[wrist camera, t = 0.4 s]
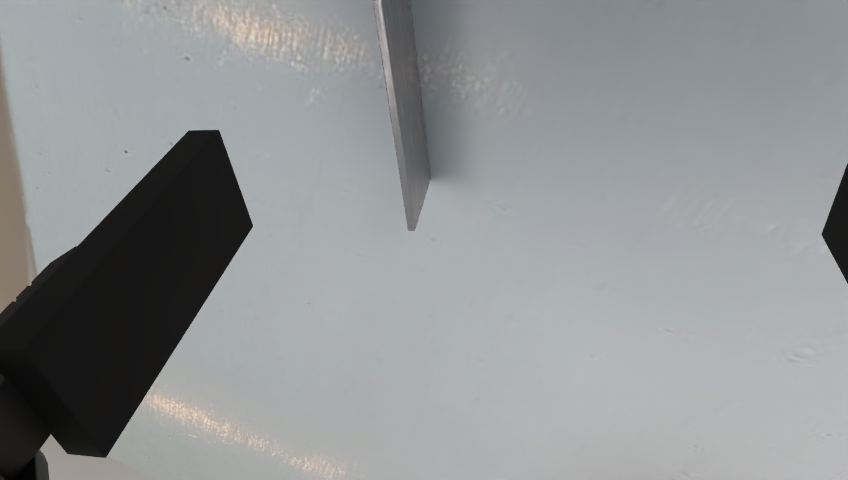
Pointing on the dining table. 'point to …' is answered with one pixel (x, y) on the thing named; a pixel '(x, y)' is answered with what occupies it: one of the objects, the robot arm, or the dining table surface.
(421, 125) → the knife
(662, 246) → the dining table surface
